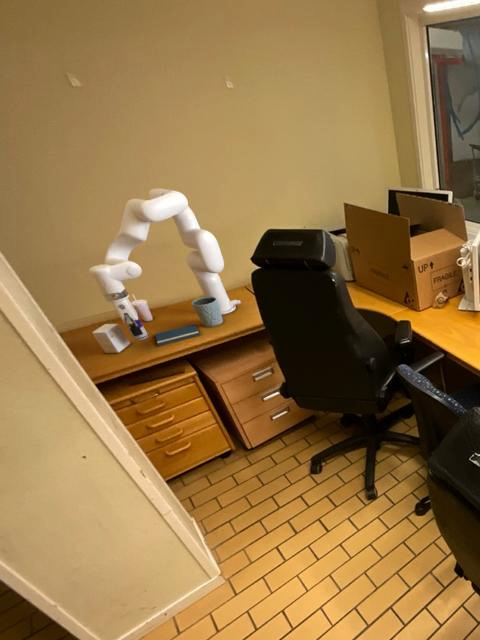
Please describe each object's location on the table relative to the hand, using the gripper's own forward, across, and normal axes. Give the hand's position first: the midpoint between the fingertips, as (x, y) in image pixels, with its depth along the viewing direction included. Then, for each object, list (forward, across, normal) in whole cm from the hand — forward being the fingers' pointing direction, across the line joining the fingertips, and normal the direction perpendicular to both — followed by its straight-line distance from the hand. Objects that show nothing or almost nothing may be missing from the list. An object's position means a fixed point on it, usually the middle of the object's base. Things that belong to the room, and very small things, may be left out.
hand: (138, 332), depth 175 cm
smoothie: (+6, +28, -3) cm, 29 cm away
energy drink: (+3, 0, 0) cm, 3 cm away
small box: (+6, +2, +9) cm, 12 cm away
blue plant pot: (+6, +4, -28) cm, 29 cm away
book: (+6, 0, -13) cm, 14 cm away
